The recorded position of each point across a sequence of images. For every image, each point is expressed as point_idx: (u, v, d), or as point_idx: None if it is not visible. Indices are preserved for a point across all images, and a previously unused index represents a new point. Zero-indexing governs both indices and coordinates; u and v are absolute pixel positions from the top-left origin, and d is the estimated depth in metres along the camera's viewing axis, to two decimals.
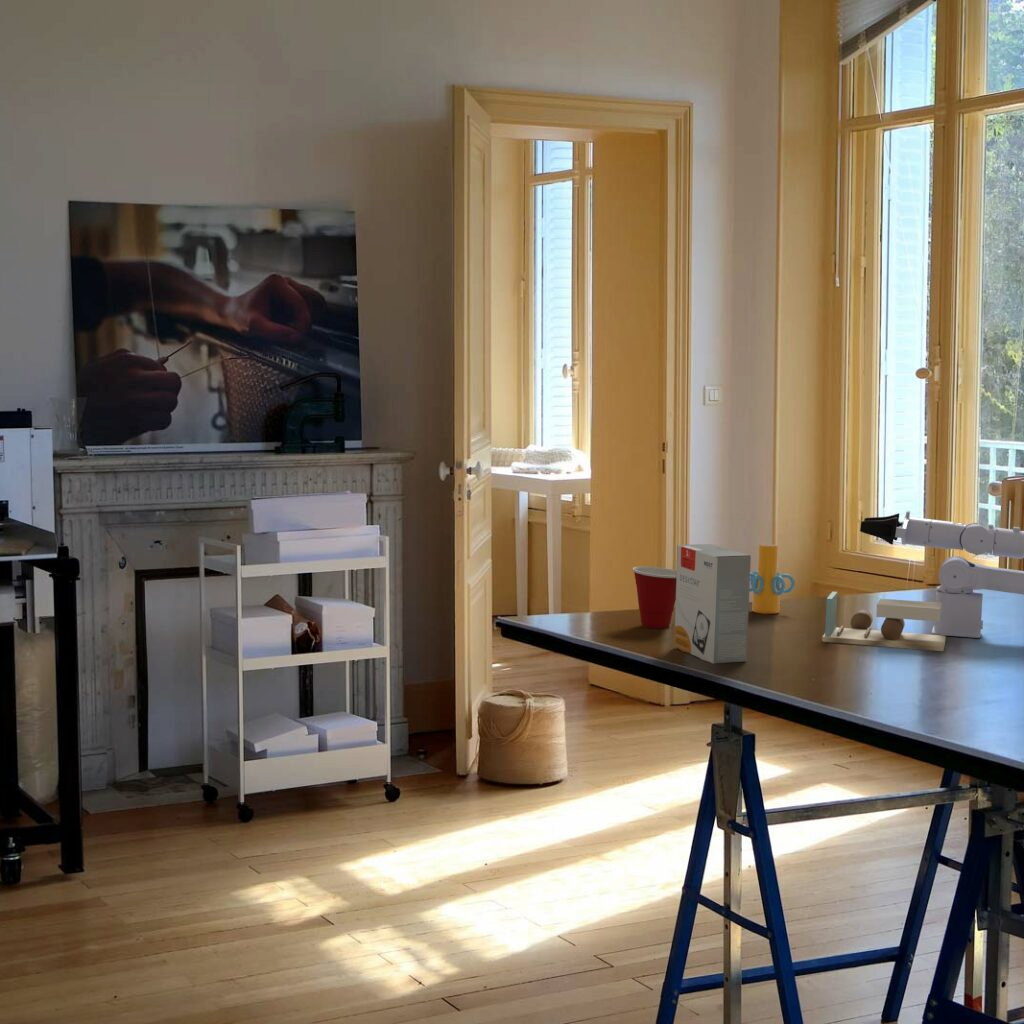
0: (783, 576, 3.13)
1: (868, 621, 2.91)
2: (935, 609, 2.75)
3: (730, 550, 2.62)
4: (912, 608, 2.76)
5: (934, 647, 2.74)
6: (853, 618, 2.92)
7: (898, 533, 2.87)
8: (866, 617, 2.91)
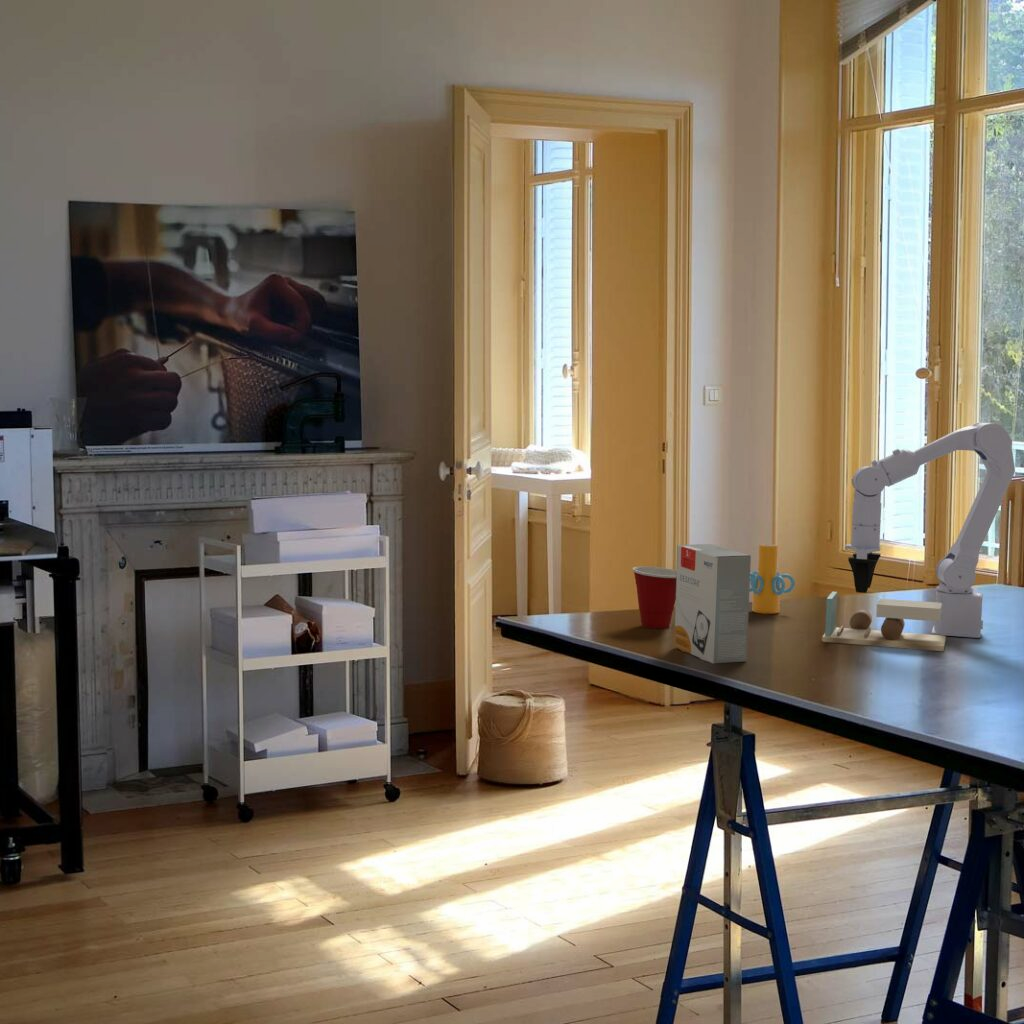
0: (783, 576, 3.13)
1: (867, 620, 2.91)
2: (935, 609, 2.75)
3: (730, 550, 2.62)
4: (912, 608, 2.76)
5: (934, 647, 2.74)
6: (852, 618, 2.92)
7: (862, 556, 2.86)
8: (865, 617, 2.91)
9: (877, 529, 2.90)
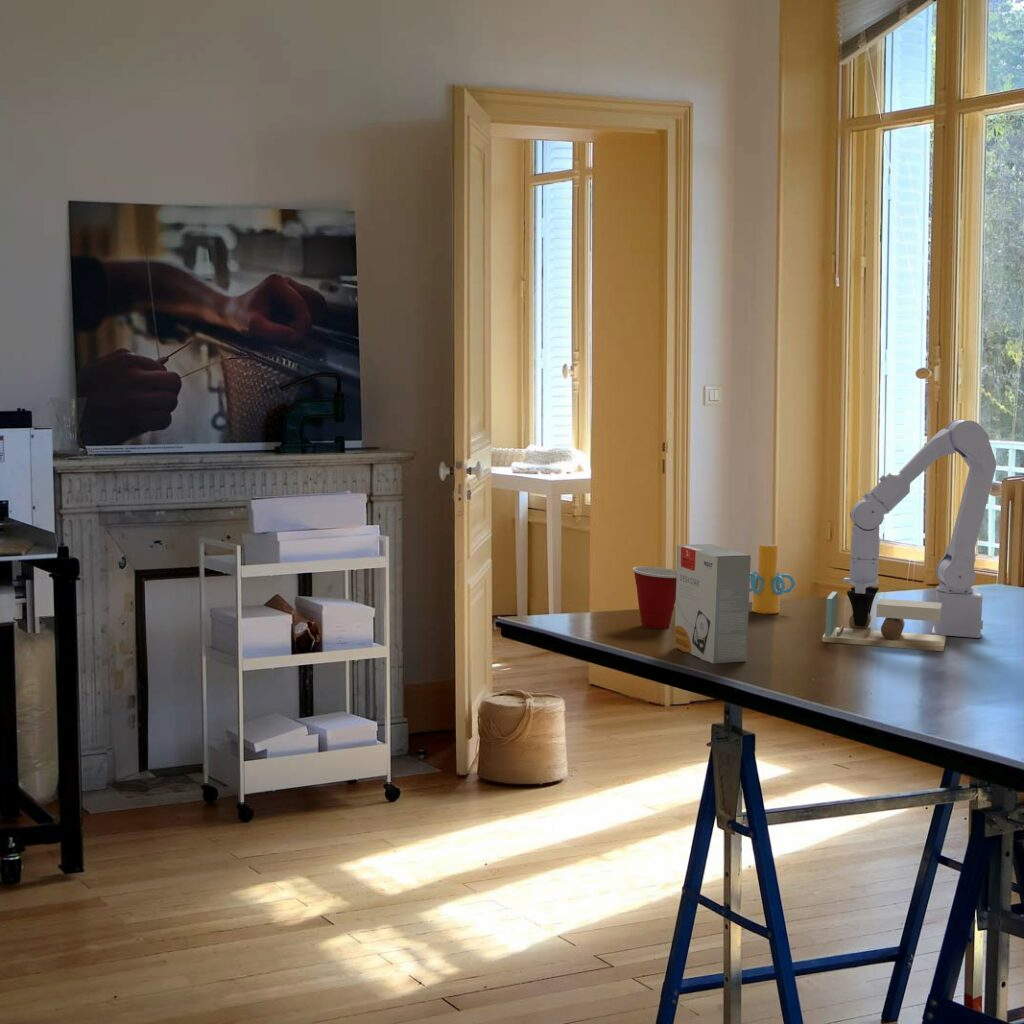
0: (783, 576, 3.13)
1: None
2: (935, 609, 2.75)
3: (730, 550, 2.62)
4: (912, 608, 2.76)
5: (934, 647, 2.74)
6: (851, 619, 2.92)
7: (860, 590, 2.87)
8: None
9: (875, 563, 2.91)
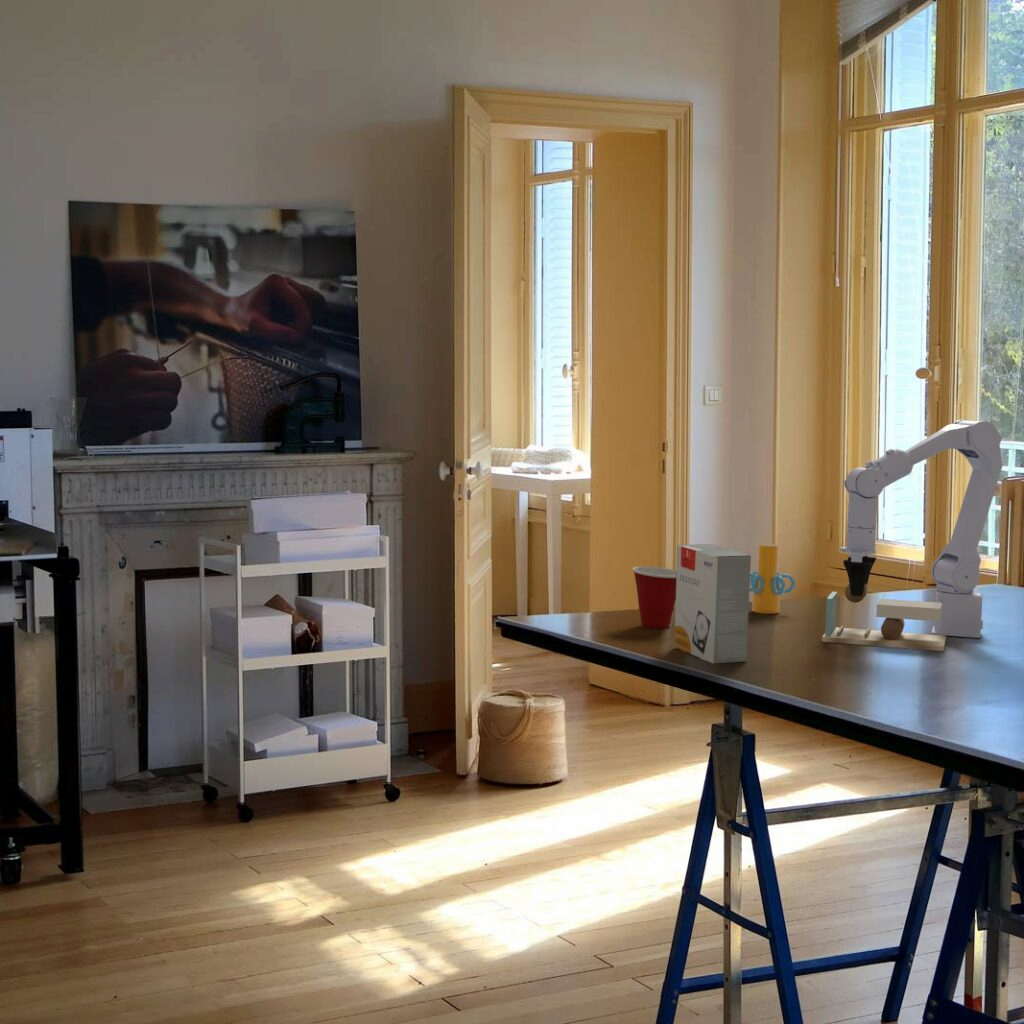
0: (783, 576, 3.13)
1: None
2: (935, 609, 2.75)
3: (730, 550, 2.62)
4: (912, 608, 2.76)
5: (934, 647, 2.74)
6: (847, 589, 2.86)
7: (857, 559, 2.80)
8: None
9: (873, 532, 2.85)
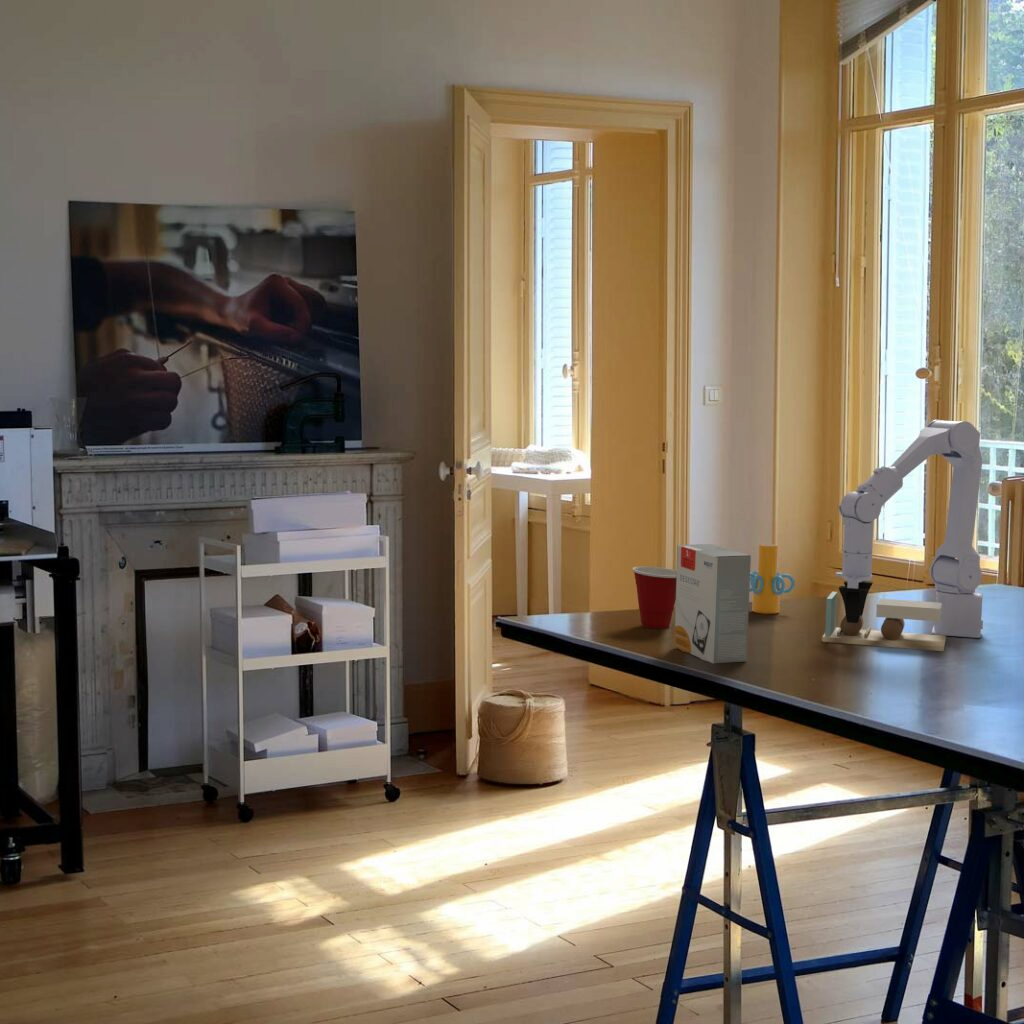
0: (783, 576, 3.13)
1: (858, 622, 2.81)
2: (935, 609, 2.75)
3: (730, 550, 2.62)
4: (912, 608, 2.76)
5: (934, 647, 2.74)
6: (842, 622, 2.82)
7: (853, 585, 2.76)
8: None
9: (869, 557, 2.81)
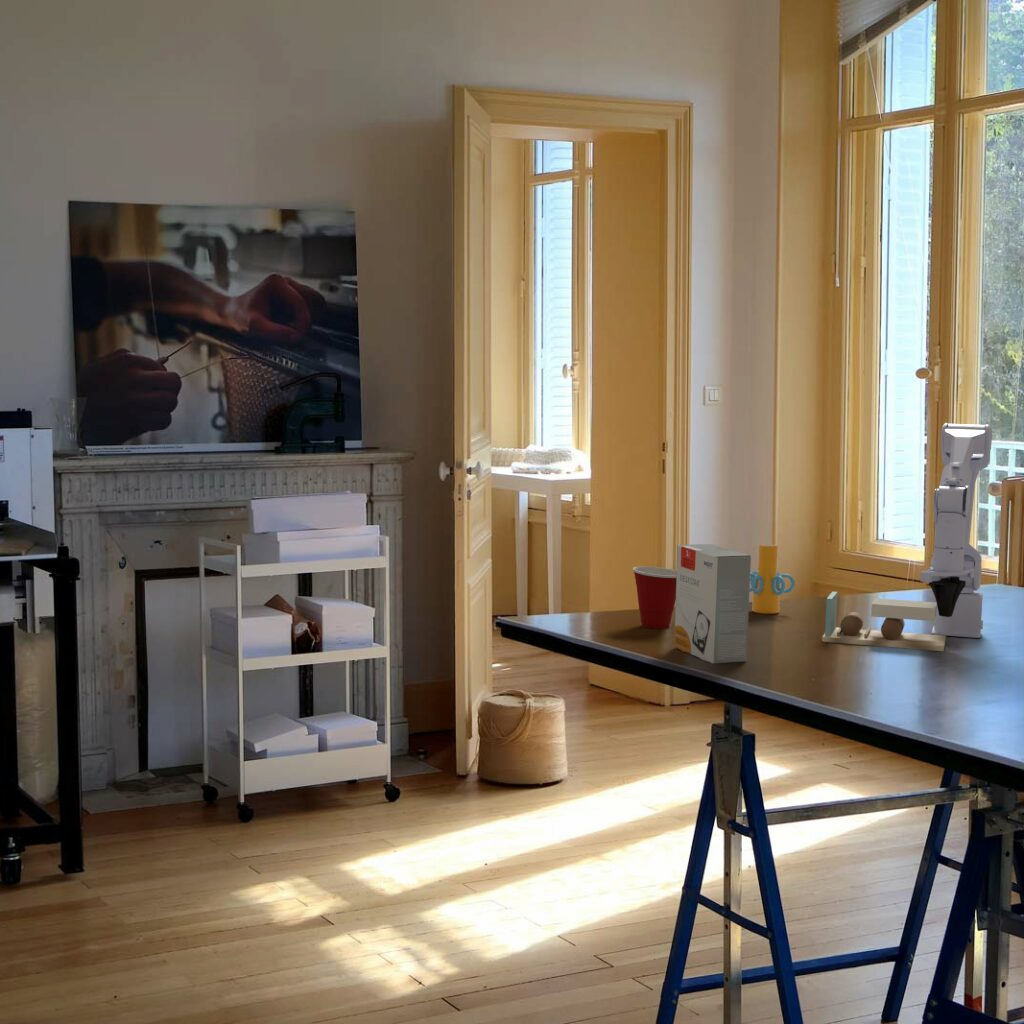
0: (783, 576, 3.13)
1: (858, 622, 2.81)
2: (930, 609, 2.75)
3: (730, 550, 2.62)
4: (907, 608, 2.77)
5: (934, 647, 2.74)
6: (842, 622, 2.82)
7: (924, 579, 2.73)
8: (855, 619, 2.81)
9: (954, 552, 2.74)
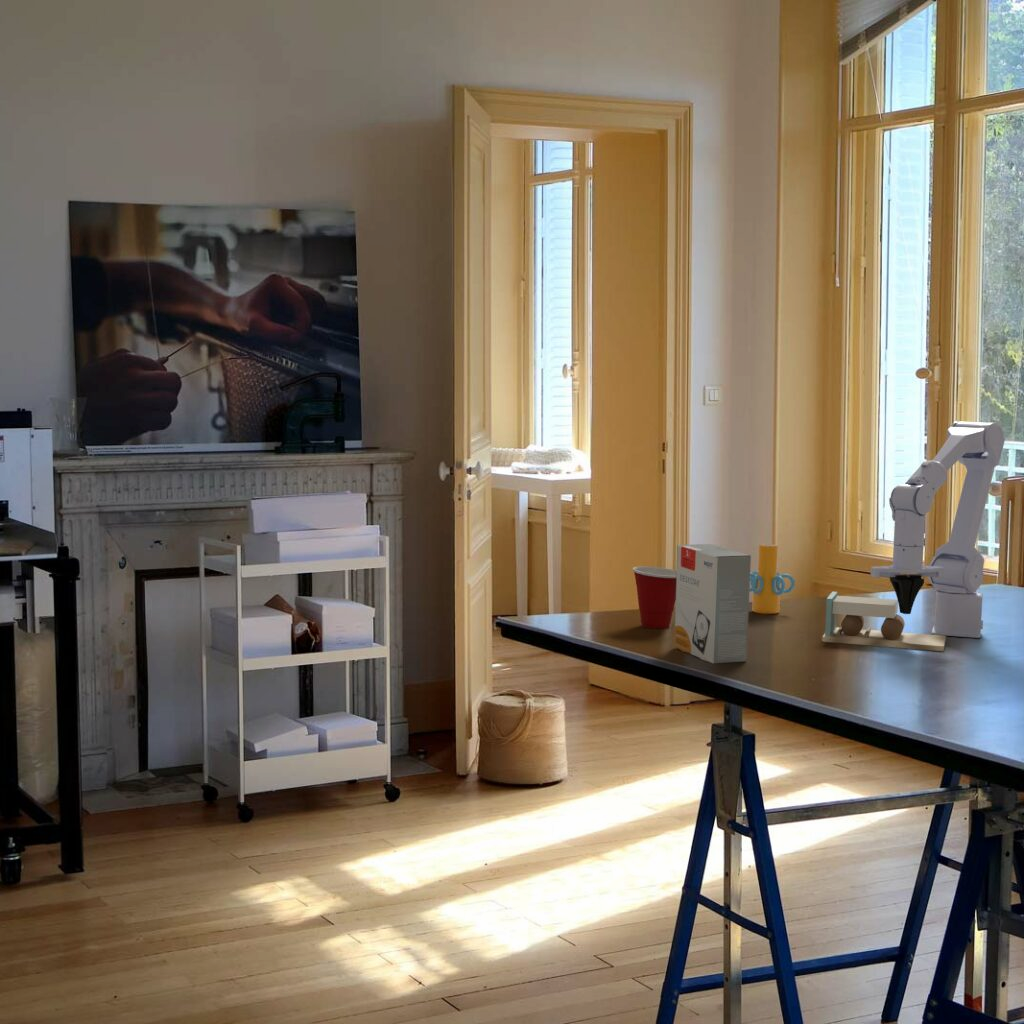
0: (783, 576, 3.13)
1: (859, 623, 2.81)
2: (890, 606, 2.78)
3: (730, 550, 2.62)
4: (867, 605, 2.79)
5: (934, 647, 2.74)
6: (843, 622, 2.82)
7: (873, 574, 2.78)
8: (856, 619, 2.81)
9: (907, 550, 2.77)
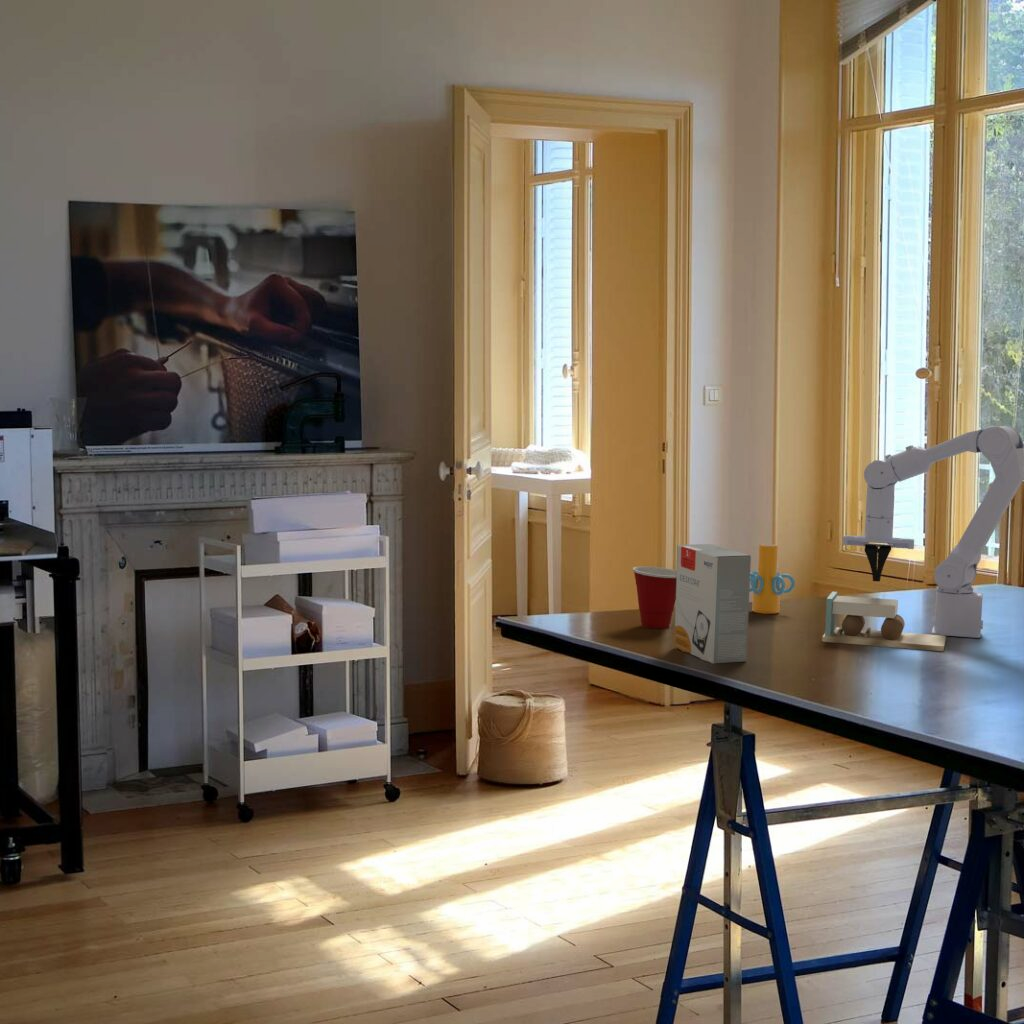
0: (783, 576, 3.13)
1: (860, 624, 2.81)
2: (890, 606, 2.78)
3: (730, 550, 2.62)
4: (867, 605, 2.79)
5: (934, 647, 2.74)
6: (844, 621, 2.82)
7: None
8: (858, 620, 2.81)
9: (871, 521, 2.98)
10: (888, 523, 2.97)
